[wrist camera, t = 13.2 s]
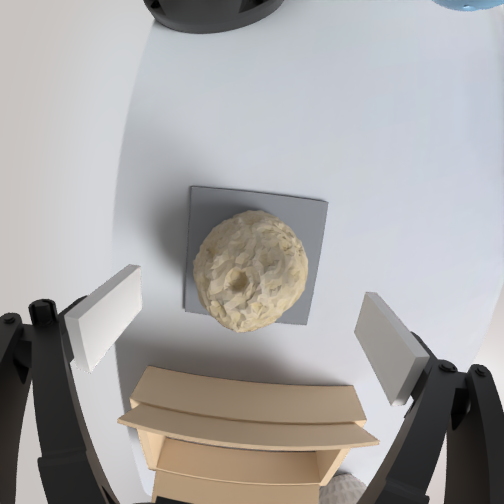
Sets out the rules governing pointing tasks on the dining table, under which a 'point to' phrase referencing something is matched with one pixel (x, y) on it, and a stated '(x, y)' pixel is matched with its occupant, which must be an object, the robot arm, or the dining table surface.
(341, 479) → the vase
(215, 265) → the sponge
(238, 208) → the mat
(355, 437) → the carton
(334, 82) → the dining table surface
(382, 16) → the dining table surface
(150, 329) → the dining table surface
